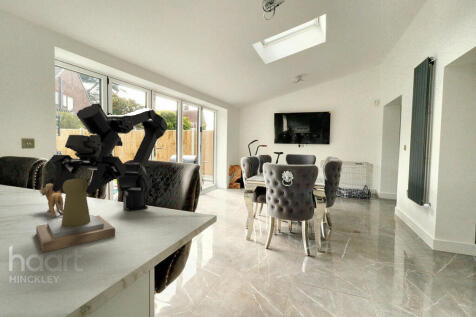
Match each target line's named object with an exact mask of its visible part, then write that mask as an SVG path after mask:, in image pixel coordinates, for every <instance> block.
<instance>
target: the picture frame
mask: <svg viewBox="0 0 476 317" xmlns="http://www.w3.org/2000/svg"><path fill="white" fill-rule="evenodd" d="M89 215H90V222H89V223H88V224H85V225H82V226H76V227H63V226H62V225H61V224H62V219H60V220H59V219H58V220H54V221H53V220H52V221H48V222H47V223H45V224H41V225H40V224H39V225H35V228H36V236H37V239H38V243H39V245H40V248H41V250H42V253H47V252H52V251H56V250H59V249H65V248H68V247H73V246H77V245H81V244H85V243H90V242H94V241H99V240H103V239H107V238H112V237H115V236H116V227H115V226H113V225H112V224H110V222H109V221H107V220H105V218H103V217H102V216H100V215H94V214H89Z"/></svg>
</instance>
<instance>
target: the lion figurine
mask: <svg viewBox="0 0 476 317" xmlns="http://www.w3.org/2000/svg"><path fill="white" fill-rule="evenodd" d="M52 187H53V183H46V184H45V187H43V188H42V189H41V190H39V193H40V194H41V196H45V198H46V200H47V206H48V210H47V211H46V212H47V213H50V212H51V215H50V218H54V217H56V211H57V213H58V214H59V216H62V217H63V210H64V198H63V194H62V191H61V189H60V190H58V191H57V192H54V191H52ZM55 209H56V210H55Z"/></svg>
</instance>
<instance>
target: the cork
mask: <svg viewBox="0 0 476 317" xmlns="http://www.w3.org/2000/svg"><path fill="white" fill-rule="evenodd" d="M88 186H89V183H88V181H87V179H82V178H72V179H70V180H67V181H65V182H64V184H63V187H62V190H63V192H64V193H65V195H64V202H63V216H62V219H61V220H62V224H61V225H62V226H63V227H76V226H82V225H85V224H88V223H89V222H90V215H91V214H90V209H89V205H88V198H87V193H86V190H87V188H88Z"/></svg>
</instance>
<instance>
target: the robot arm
mask: <svg viewBox="0 0 476 317" xmlns="http://www.w3.org/2000/svg"><path fill="white" fill-rule="evenodd" d="M76 116H77V118H78V119H79V121H80V122H81V123H82V125H83V126H84V128H85V129H86V130H87V132H88V133H89V134H90V135H84V134H69V135H68V137H67V140H66V142H65V145H64V147H65V148H67V149H70V150H72V151H73V152H75V153H74V155H75V156H76V158H79V159H73V157H72V156H71V155H70V154H53V155H52V156H51V158H50V159H49V161H48V162H49V163H50V164H51V165H52V166H53V167H54V168H55V175H54V176H55V177H54V180H53V183H52V184H53V187H52V191H54V192H57V191H58V190H60V191H61V189H63V184H64V182H65V181H67V180H70V179H75V177H76V176H75V175H77V173H78V172H79V169H88V170H96V172H95V174H94V176H93V178H92V179H91V181H90V183H88V188H87V190H86V195H91V194H92V193H93V192H95V191H96V190H99V189H100V188H101V187H103V186H105V185H107V184H109V183H110V182H112V181H114V180H117V181H118V186H119V190H120V192H124V195H123V197H122V198H123V200H122V201H123V204H122V205H123V207H122V208H124V209H126V210H128V211H130V212H131V211H136V210H137V211H138V210H142V209H148V208H149V206H148V205H147V201H146V200H147V192H150V189H151V183H150V181H149V180H148V176H147V175H148V174H147V170H146V167H147V164H148V163H149V160H150V158H151V155H152V154H153V153H152V152H153V150H154V148H155V147H156V144H157V141H158V140H159V139H160V138H162V137H163V136H164V135H165V133H166V132H167V129H168V123H167V121H166V120H165V119H164V117H163V116H162V115H159V114H158V113H157V112H155V110H154V109H152V108H140V109H138V110H136V111H132V112H129V113H127V114H108V115H107V114H106V113H105V112H104V110H103V107H102V105H101V104H100V103H91V105H89V106H88V105H87V106H86V107H84V108H81V109H79V110H78V111H77V113H76ZM137 125H141V126H142V127H143V130H144V136H143V138H142V140H141V142H140V144H139V147H138V149H137V151H136V153H135V155H134V156H133V157H134V158H133V160H132V161H131V162H130V163H123V161H122V159H121V158H120V157H119V155H118V156H116V155H114V156H113V154H112V152H113V151H114V149H115V147H124V146H123V144H124V143H123V141H122V138H121V137H120V135H122V134H125V135H127V134H129V133H130V132H132V131H133V130H134V129H135V128H134V126H137ZM119 134H120V135H119Z"/></svg>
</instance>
